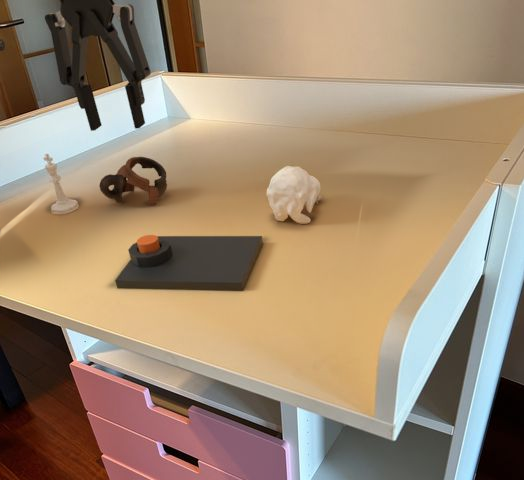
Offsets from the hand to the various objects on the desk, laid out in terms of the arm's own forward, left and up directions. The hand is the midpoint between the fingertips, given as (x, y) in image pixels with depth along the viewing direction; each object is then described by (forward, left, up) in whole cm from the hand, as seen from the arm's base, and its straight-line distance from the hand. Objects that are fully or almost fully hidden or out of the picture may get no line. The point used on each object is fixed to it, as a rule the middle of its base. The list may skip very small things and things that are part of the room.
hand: (118, 126), depth 94 cm
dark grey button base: (+18, -23, -13) cm, 32 cm away
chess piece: (-13, -3, -13) cm, 19 cm away
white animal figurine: (+31, -6, -13) cm, 34 cm away
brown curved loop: (0, 0, -13) cm, 13 cm away
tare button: (+12, -23, -11) cm, 28 cm away
